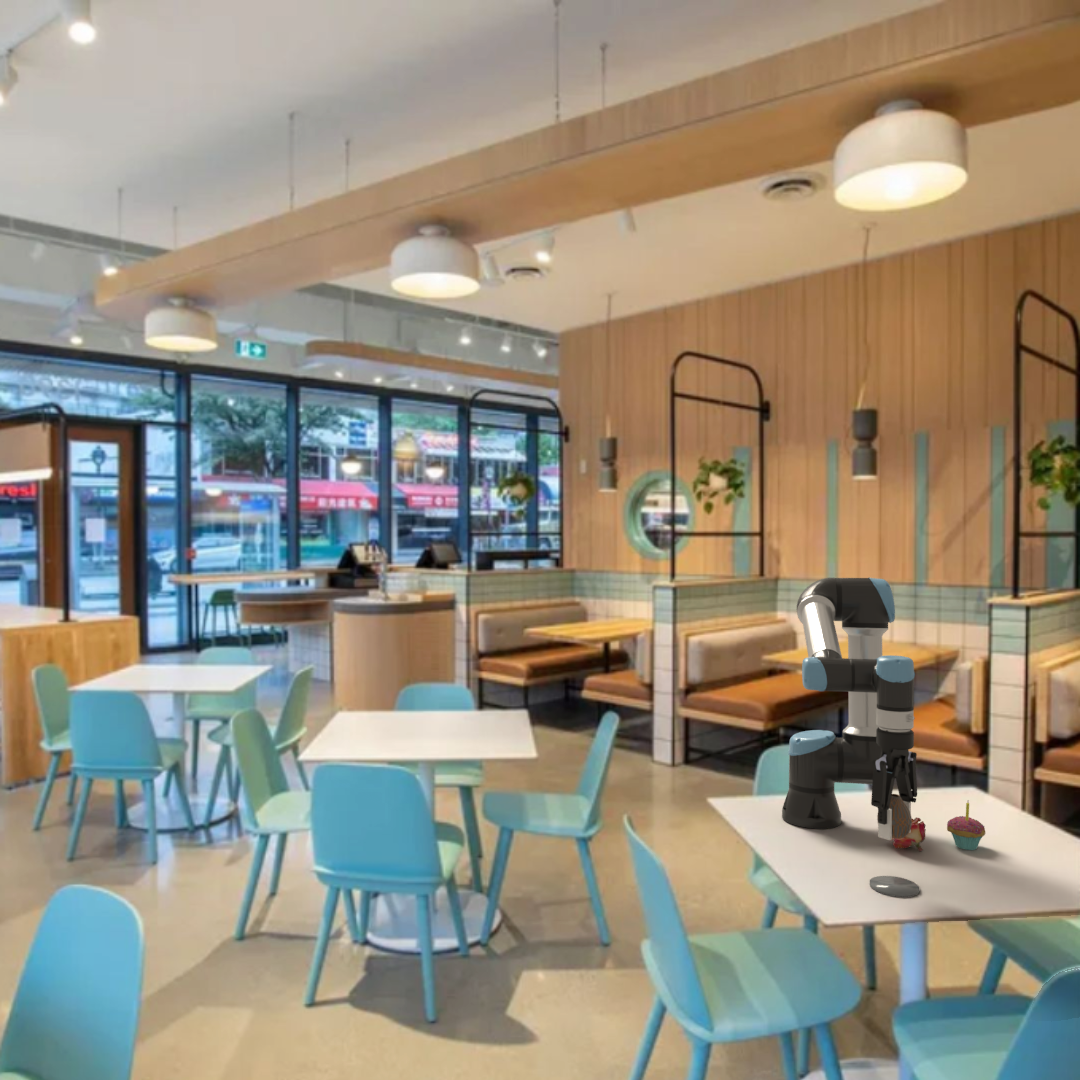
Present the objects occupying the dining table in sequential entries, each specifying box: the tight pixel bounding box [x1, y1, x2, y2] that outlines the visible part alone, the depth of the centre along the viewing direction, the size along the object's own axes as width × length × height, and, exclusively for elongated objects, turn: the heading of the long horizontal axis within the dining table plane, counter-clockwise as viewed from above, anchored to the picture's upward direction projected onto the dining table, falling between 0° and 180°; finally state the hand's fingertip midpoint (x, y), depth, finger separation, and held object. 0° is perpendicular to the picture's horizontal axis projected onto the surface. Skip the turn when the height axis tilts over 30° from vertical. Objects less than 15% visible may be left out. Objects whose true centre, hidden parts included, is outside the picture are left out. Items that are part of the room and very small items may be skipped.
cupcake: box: [946, 799, 986, 851], centre depth 215 cm, size 9×8×12 cm
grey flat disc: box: [869, 875, 920, 898], centre depth 190 cm, size 10×10×1 cm
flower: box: [889, 817, 927, 852], centre depth 213 cm, size 10×9×8 cm
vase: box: [876, 793, 913, 840], centre depth 190 cm, size 7×7×9 cm
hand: (894, 834), depth 190 cm, fingers closed on vase, 7 cm apart
